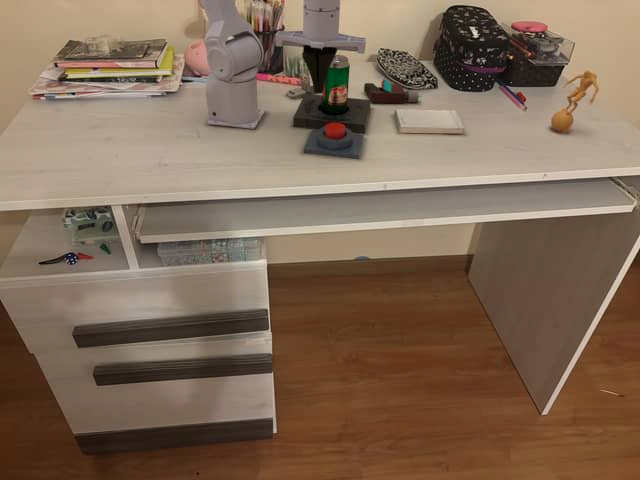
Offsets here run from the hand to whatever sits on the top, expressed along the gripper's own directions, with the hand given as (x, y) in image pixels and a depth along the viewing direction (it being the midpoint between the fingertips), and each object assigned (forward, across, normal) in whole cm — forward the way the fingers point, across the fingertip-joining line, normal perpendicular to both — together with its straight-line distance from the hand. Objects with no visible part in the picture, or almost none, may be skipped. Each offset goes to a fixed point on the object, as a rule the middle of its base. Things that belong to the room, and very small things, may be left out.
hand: (319, 91), depth 88 cm
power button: (+8, +3, 0) cm, 9 cm away
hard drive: (+10, +20, +13) cm, 26 cm away
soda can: (+10, +1, +12) cm, 16 cm away
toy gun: (+10, +12, +26) cm, 31 cm away
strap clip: (+11, -7, +23) cm, 27 cm away
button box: (+10, +3, 0) cm, 11 cm away
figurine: (+10, +47, +17) cm, 51 cm away
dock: (+10, +1, +12) cm, 16 cm away
